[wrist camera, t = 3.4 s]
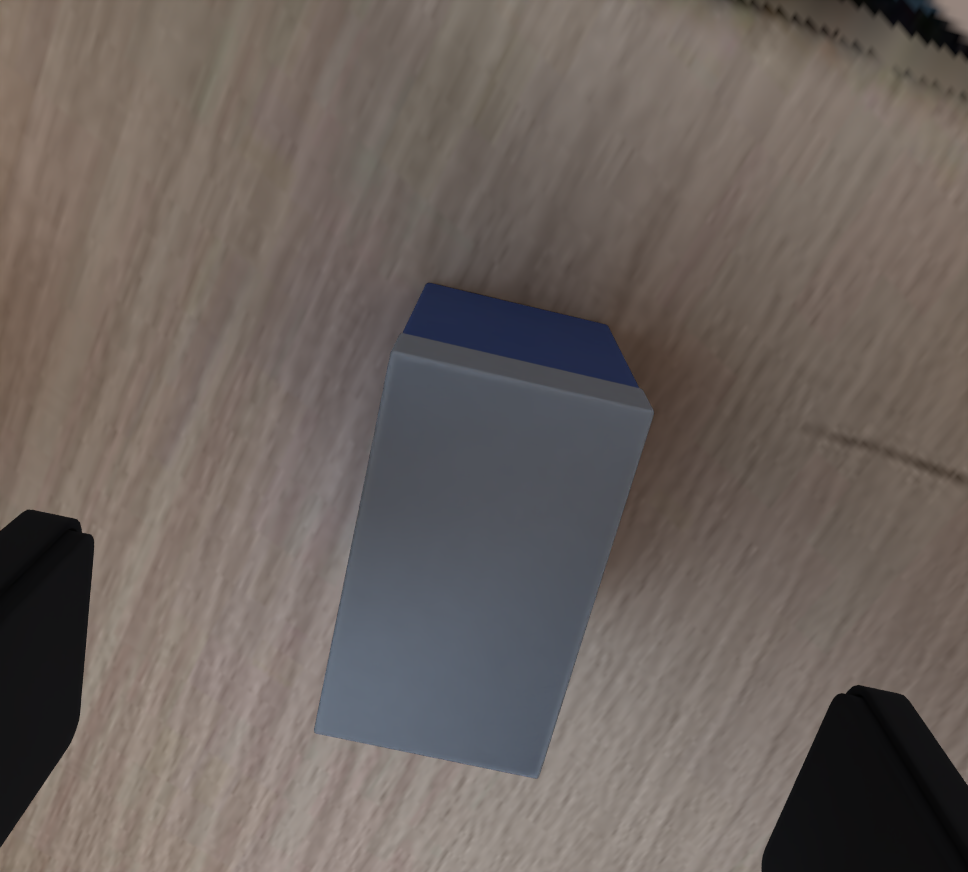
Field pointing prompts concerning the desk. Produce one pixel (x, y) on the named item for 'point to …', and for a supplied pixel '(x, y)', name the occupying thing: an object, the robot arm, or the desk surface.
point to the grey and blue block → (481, 531)
